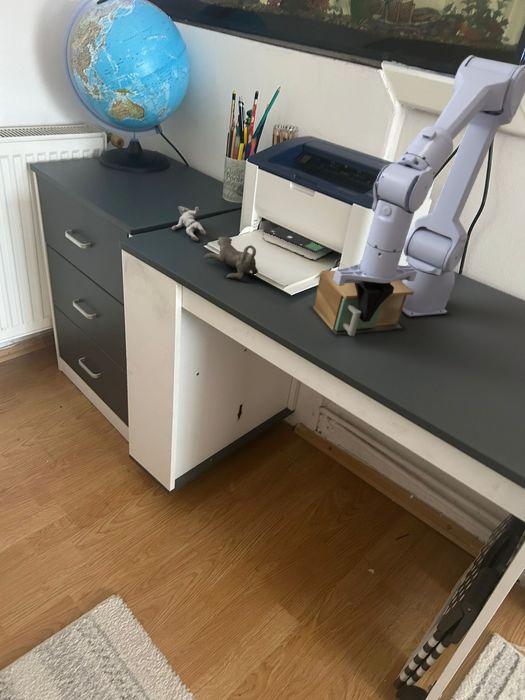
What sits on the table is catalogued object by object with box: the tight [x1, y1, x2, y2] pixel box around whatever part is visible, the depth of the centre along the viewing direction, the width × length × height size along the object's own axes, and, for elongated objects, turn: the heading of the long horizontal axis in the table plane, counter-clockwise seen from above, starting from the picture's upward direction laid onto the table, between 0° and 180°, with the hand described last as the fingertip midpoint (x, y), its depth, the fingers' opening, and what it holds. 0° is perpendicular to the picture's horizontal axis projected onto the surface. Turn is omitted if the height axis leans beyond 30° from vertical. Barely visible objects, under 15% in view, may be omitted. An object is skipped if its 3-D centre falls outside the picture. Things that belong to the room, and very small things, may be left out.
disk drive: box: [262, 227, 325, 253], centre depth 123 cm, size 10×3×15 cm
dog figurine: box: [203, 236, 259, 280], centre depth 105 cm, size 12×6×7 cm, turn 44°
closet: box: [312, 270, 414, 336], centre depth 96 cm, size 14×9×8 cm
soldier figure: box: [171, 205, 207, 242], centre depth 120 cm, size 8×5×12 cm
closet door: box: [335, 298, 383, 337], centre depth 91 cm, size 8×4×6 cm, turn 112°
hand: (363, 318), depth 89 cm, fingers closed
